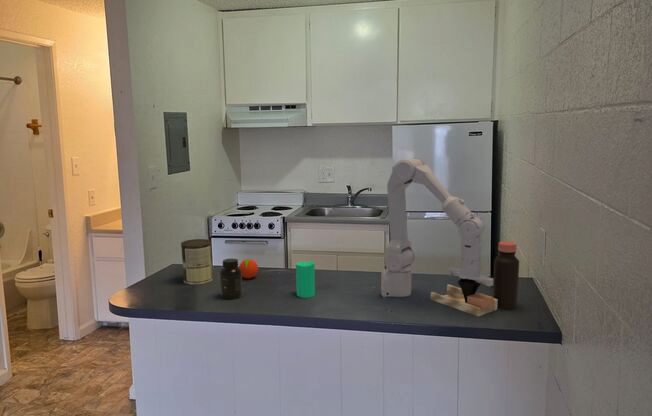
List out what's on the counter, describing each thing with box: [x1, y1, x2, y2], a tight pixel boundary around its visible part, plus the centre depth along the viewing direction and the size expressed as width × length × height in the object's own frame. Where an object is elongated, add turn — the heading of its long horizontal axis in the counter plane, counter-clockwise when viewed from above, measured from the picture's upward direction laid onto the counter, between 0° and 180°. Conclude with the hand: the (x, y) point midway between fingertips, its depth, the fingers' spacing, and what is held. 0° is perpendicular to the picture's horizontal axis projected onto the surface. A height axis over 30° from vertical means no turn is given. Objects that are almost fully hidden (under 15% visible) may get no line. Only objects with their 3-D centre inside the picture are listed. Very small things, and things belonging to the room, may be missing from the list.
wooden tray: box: [430, 284, 498, 317], centre depth 149 cm, size 18×16×4 cm
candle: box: [295, 260, 316, 298], centre depth 160 cm, size 6×6×12 cm
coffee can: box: [180, 238, 213, 285], centre depth 177 cm, size 10×10×14 cm
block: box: [467, 292, 493, 310], centre depth 142 cm, size 5×5×4 cm
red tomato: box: [238, 258, 259, 279], centre depth 179 cm, size 8×7×7 cm
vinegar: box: [492, 240, 520, 311], centre depth 144 cm, size 7×7×20 cm
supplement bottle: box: [219, 258, 243, 300], centre depth 160 cm, size 7×7×12 cm
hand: (468, 303), depth 145 cm, fingers closed
